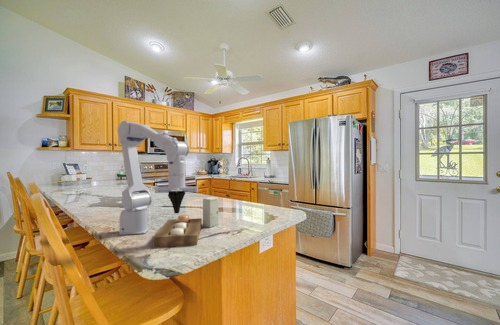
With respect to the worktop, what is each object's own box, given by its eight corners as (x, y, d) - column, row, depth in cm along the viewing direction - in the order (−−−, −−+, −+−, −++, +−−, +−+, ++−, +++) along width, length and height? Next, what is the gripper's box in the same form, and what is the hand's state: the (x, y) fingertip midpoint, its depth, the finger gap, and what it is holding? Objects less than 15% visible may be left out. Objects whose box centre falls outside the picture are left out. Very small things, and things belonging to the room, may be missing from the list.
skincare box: (210, 227, 92) (210, 199, 92) (202, 226, 94) (202, 198, 94) (219, 224, 97) (219, 197, 97) (211, 222, 99) (211, 196, 99)
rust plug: (177, 227, 87) (177, 217, 87) (179, 224, 92) (179, 214, 92) (188, 226, 88) (188, 217, 88) (189, 223, 92) (189, 214, 92)
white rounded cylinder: (169, 243, 74) (169, 231, 74) (172, 238, 78) (172, 228, 78) (182, 242, 74) (182, 231, 74) (184, 238, 78) (184, 227, 78)
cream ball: (174, 236, 80) (174, 225, 80) (176, 232, 85) (176, 222, 85) (185, 235, 81) (185, 225, 81) (187, 232, 85) (187, 222, 85)
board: (153, 247, 71) (153, 237, 71) (168, 227, 93) (168, 219, 93) (196, 244, 73) (196, 235, 73) (201, 225, 95) (201, 218, 95)
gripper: (152, 175, 72) (152, 216, 72) (196, 175, 74) (196, 214, 74) (158, 174, 79) (158, 211, 79) (198, 174, 81) (198, 210, 81)
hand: (176, 212), depth 77 cm, fingers closed
